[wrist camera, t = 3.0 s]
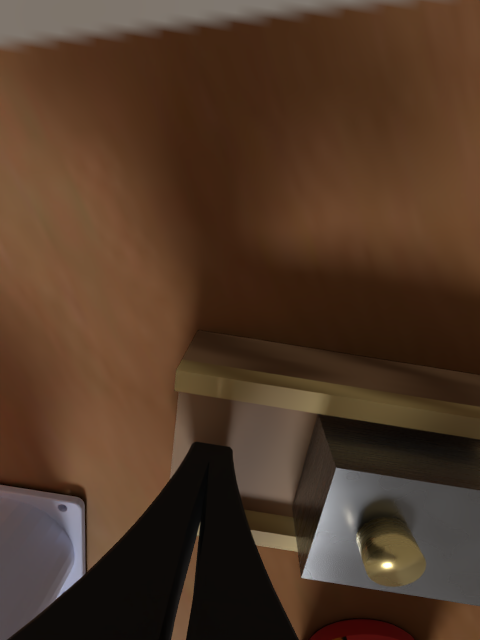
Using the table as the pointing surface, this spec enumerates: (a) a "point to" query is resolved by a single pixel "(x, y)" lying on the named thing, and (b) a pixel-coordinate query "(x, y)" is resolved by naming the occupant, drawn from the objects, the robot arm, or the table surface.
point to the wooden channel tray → (300, 412)
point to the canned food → (361, 631)
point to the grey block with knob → (390, 510)
